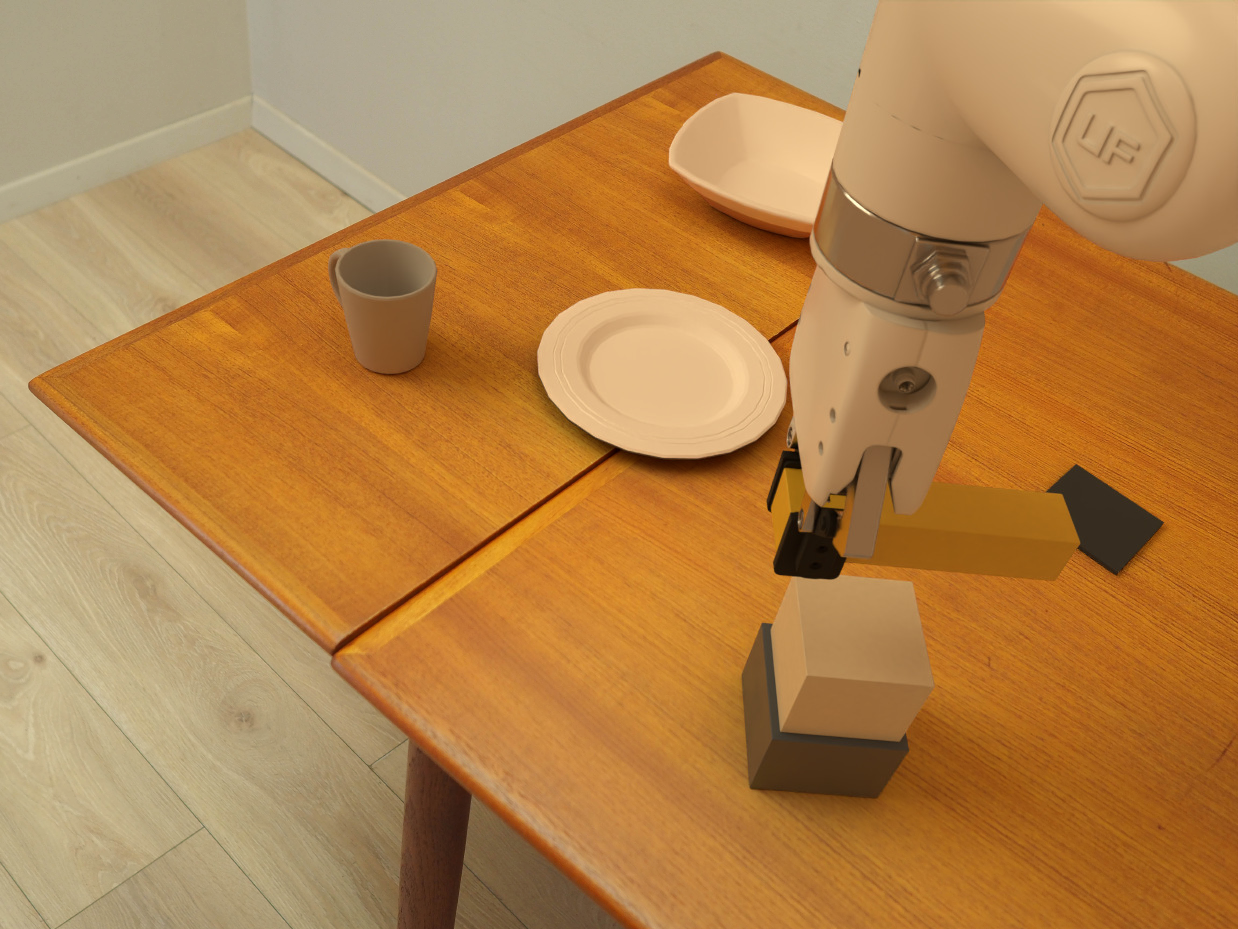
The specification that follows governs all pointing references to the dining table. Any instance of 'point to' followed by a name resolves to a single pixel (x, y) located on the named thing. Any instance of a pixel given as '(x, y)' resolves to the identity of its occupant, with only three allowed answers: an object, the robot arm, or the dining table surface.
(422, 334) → the cup
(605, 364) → the plate
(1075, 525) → the mat
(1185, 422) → the dining table surface
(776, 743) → the tower
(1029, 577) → the bar
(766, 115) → the bowl
